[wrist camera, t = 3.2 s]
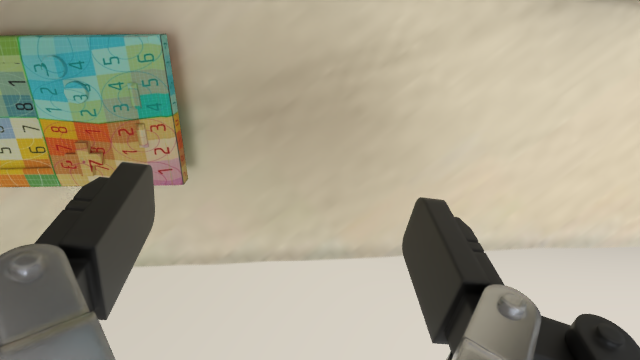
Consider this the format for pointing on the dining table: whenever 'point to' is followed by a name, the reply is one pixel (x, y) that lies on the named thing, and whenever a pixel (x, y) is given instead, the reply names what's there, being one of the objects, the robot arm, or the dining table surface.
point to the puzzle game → (87, 109)
